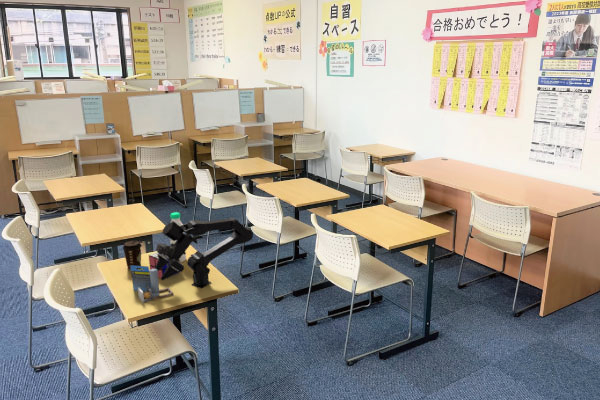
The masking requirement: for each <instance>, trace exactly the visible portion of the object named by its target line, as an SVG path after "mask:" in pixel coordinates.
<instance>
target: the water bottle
mask: <svg viewBox="0 0 600 400" xmlns="http://www.w3.org/2000/svg"><path fill="white" fill-rule="evenodd" d="M169 216H170V217H169V218H170V219H171V221H170V223H171V222H172V221H174V222H175V223H177V225H179V226H181V225H184V224H183V223H182V221H181V213H180V212H178V211H177V212H175V211H174V212H172V213H170V215H169ZM183 233H184V234H185V232H183ZM169 241H170V245H171V244H172V243H173V244H174V243H175V242H176V241H177V240H175V241H173V240H171V239H170V238H169ZM186 254H187V253H186ZM186 254H185V255H184V254H183V255H182V256H181V258H180V259H179V260H180V263H182V262H184V261H186V259H187V255H186Z"/></svg>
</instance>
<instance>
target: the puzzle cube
mask: <svg viewBox="0 0 600 400" xmlns="http://www.w3.org/2000/svg"><path fill="white" fill-rule="evenodd" d="M157 253H158V252H157V251H156V252H153V253H151V254H149V255H148V264H149V271H150V270H151V269H155V267H156V264H157V262H158V255H157ZM158 254H159V253H158ZM167 260H168V259H167ZM168 261H169V260H168ZM168 264H169V263H168ZM169 265H170V264H169ZM166 269H167V264H166V265H165V266H164V267H163V268H161V269H160V270H159V271H158V279H161V277H162V275H163V274H164V272H165V270H166ZM179 273H181V272H180V271H179ZM177 274H178V273H176V274H174V275H177ZM174 275H173V276H174Z"/></svg>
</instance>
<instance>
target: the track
mask: <svg viewBox="0 0 600 400" xmlns="http://www.w3.org/2000/svg"><path fill="white" fill-rule="evenodd" d="M165 292H168V293H165ZM149 293H150V292H149ZM160 293H164V294H161V295H160ZM171 296H174V292H173V290H171V288H170V287H169V286H168V287H165V288H161V289H160V288H159V296H156V297H153V300H154V301H156V300H160V299H164V298H168V297H171Z"/></svg>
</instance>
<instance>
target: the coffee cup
mask: <svg viewBox="0 0 600 400" xmlns="http://www.w3.org/2000/svg"><path fill="white" fill-rule="evenodd" d="M142 246H143V245H142V244H141V242H139V241H138V240H130V241H126V242H125V243H124V244H123V246H122V250H123V253H124V257H125V262H126V267H127V270H128V271H131V267H130V265H133V266H142V249H141V248H142ZM137 269H139V270H140V268H137Z"/></svg>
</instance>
